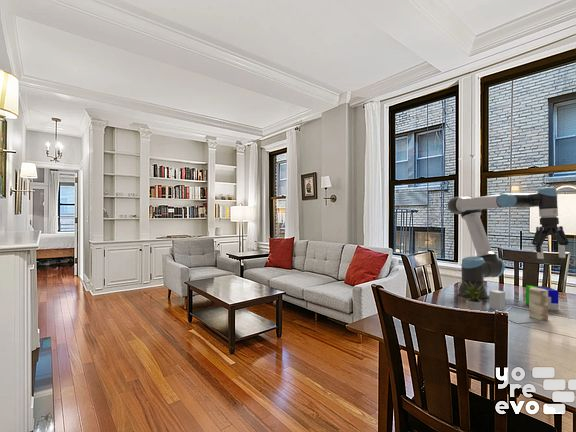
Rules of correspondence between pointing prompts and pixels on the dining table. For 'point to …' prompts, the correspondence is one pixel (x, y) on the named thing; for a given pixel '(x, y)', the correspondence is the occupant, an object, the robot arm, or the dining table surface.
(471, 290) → the house plant
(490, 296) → the grey block
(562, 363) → the dining table surface
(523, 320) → the felt mat
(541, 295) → the maple block
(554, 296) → the puzzle toy
